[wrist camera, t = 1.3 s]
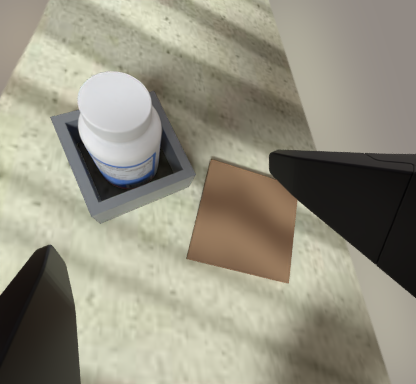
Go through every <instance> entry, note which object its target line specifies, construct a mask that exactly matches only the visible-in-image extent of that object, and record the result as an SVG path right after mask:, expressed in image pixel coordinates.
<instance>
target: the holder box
mask: <svg viewBox="0 0 416 384" xmlns="http://www.w3.org/2000/svg"><path fill="white" fill-rule="evenodd" d="M149 94H150V97H151V102H152V106H153V107H154V108H155V110H156V111H157V113H158V115H159V118H160V121H161V127H162V133H161V143H160V146H161V148H162V150H163V152H164V154H165V156H166V158H167V160H168V162H169V165H170V167H171V169H172V171H173V173H174V174H171V175H168V176H166V177H163V178H161V179H158V180H155V181H153V182H150V183H148V184H145V185H143V186H140V187H137V188H135V189H132V190H130V191H127V192H124V193H122V194H119V195H117V196H114V197H111V198H109V199H106V200H104V201H101V198H100V196H99V194H98V191H97V189H96V187H95V184H94V182H93V180H92V177H91V175H90V173H89V170H88V168H87V166H86V163H85V161H84V158H83V156H82V154H81V151H80V149H79V147H78V144H77V143H80V142H83V141H82V139H81V137H80V134H79V129H78V120H79V116H80V113H81V112H80V110H76V111H72V112H68V113H64V114H60V115H57V116H53V117H50V118H51V120H52V123H53V125H54V128H55V130H56V132H57V135H58V137H59V140H60V142H61V144H62V147H63V149H64V152H65V154H66V157H67V159H68V161H69V164H70V166H71V169H72V171H73V173H74V176H75V178H76V181H77V183H78V186H79V188H80V190H81V193H82V195H83V198H84V200H85V203H86V205H87V207H88V210H89V212H90V215H91V217H92V218H94V219H95V220H96V221H97V222H99V223H100V224H101V223H103V222H105V221H108V220H110V219H113V218H115V217H118V216H120V215H122V214H125V213H127V212H130V211H132V210H134V209H137V208H139V207H142V206H144V205H146V204H149V203H151V202H154V201H156V200H158V199H161V198H163V197H166V196H168V195H170V194H173V193H175V192H178V191H180V190H182V189H185V188H187V187H189V186H190V184H191V182H192V181H193V179H194V177H195V175H196V174H195V172H194V170H193V168H192V166H191V164H190V162H189V160H188V158H187V156H186V154H185V152H184V150H183V148H182V146H181V144H180V142H179V140H178V138H177V136H176V134H175V132H174V130H173V128H172V126H171V124H170V122H169V120H168V118H167V116H166V114H165V112H164V110H163V108H162V106H161V104H160V102H159V100H158V98H157V96H156V94H155V92H154V91H152V92H149Z"/></svg>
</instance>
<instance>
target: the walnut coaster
mask: <svg viewBox="0 0 416 384" xmlns="http://www.w3.org/2000/svg"><path fill="white" fill-rule="evenodd" d="M296 208H297V199H296V198H295V197H293V196H292V195H291V194H290V193H289V192H288V191H287V190H286V189H285V188H284V187H283V186H282V185H281V184H280V183H279V182H278V181H277V180H276V179H272V178H269V177H266V176H263V175H260V174H257V173H254V172H251V171H247V170H244V169H241V168H238V167H235V166H232V165H229V164H226V163H222V162H219V161H216V160H213V159H211V161H210V164H209V168H208V172H207V176H206V180H205V184H204V188H203V193H202V197H201V201H200V205H199V209H198V213H197V217H196V221H195V225H194V230H193V234H192V238H191V242H190V246H189V250H188V254H187V258H186V259H189V260H193V261H198V262H202V263H206V264H210V265H214V266H218V267H222V268H226V269H230V270H235V271H239V272H243V273H247V274H251V275H255V276H259V277H263V278H268V279H272V280H276V281H280V282H284V283H289V276H290V267H291V257H292V247H293V237H294V227H295V218H296Z"/></svg>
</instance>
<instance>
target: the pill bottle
mask: <svg viewBox="0 0 416 384" xmlns="http://www.w3.org/2000/svg"><path fill="white" fill-rule="evenodd" d="M78 107H79V110H80V112H81V113H80V116H79V120H78V129H79V134H80V137H81V139H82V141H83V143H84V145H85V147H86V149H87V150H88V152H89V154H90V155H91V157H92V159H93V161H94V162H95V164H96V166H97V167H98V169H99V171H100V173H101V174H102V176H103V177H104V178H105V179H106V180H107V181H108V182H109V183H111V184H112V185H114V186H116V187H119V188H123V189H135V188H137V187H140V186H143V185H145V184H147V183H148V182H149V181H151V180H152V178H153V177H154V176H155V174H156V172H157V169H158V164H159V153H160V143H161V133H162V127H161V121H160V118H159V115H158V113H157V111H156V110H155V108H154V107H153V106H152V102H151V97H150V94H149V92H148V90H147V89H146V87H145V86H144V85H143V84H142V83H141V82H140V81H139V80H138V79H136V78H134V77H133V76H131V75H129V74H126V73H122V72H115V71H107V72H102V73H98V74H96V75H93V76H92V77H90V78H89V79H87V80H86V81H85V82H84V83H83V85H82V86H81V87H80V90H79V93H78Z"/></svg>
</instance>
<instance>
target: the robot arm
mask: <svg viewBox="0 0 416 384" xmlns="http://www.w3.org/2000/svg"><path fill="white" fill-rule="evenodd" d="M269 171H270V173H271V175H272V176H273V177H274V178H275V179H276V180H277V181H278V182H279V183H280V184H281V185H282V186H283V187H284V188H285V189H286V190H287V191H288V192H289V193H290V194H291V195H292V196H293V197H295V198H296V199H297V200H298V201H299V202H301V203H302V204H303V205H304V206H305V207H307V208H308V209H309V210H310V211H311V212H313V213H314V214H315V215H316V216H317V217H319V218H320V219H321V220H322V221H323V222H325V223H326V224H327V225H328V226H330V227H331V228H332V229H333V230H334V231H336V232H337V233H338V234H339V235H340V236H342V237H343V238H344V239H345V240H346V241H348V242H349V243H350V244H351V245H352V246H354V247H355V248H356V249H357V250H359V251H360V252H361V253H362V254H363V255H365V256H366V257H367V258H368V259H369V260H371V261H372V262H373V263H374V264H377V266H378V267H379V268H380V269H381V270H382V271H384V272H385V273H386V274H387V275H389V276H390V277H391V278H392V279H393V280H395V281H396V282H397V283H398V284H399V285H401V286H402V287H403V288H404V289H405V290H407V291H408V292H409V293H410V294H411V295H413V296H414V297H415V298H416V154H377V153H376V154H375V153H365V154H364V153H350V152H324V151H300V150H276V151H273V152H271V153H270V155H269ZM0 384H81V381H80V367H79V353H78V339H77V325H76V312H75V304H74V299H73V294H72V290H71V285H70V281H69V276H68V271H67V267H66V264H65V262H64V260H63V259H62V258H61V256H60V255H59V254H58V252H57V251H56V249H55V248H54V247H53V246H52V245H47V246H44V247H42V248H39V249H37V250H36V251H35V252H34V253H33V255H32V256H31V257H30V258H29V260H28V261H27V262H26V263H25V265H24V266H23V267H22V268H21V270H20V271H19V272H18V274H17V275H16V276H15V277H14V279H13V280H12V281H11V282H10V284H9V285H8V286H7V288H6V289H5V290H4V291H3V293H2V294H1V295H0Z"/></svg>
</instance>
